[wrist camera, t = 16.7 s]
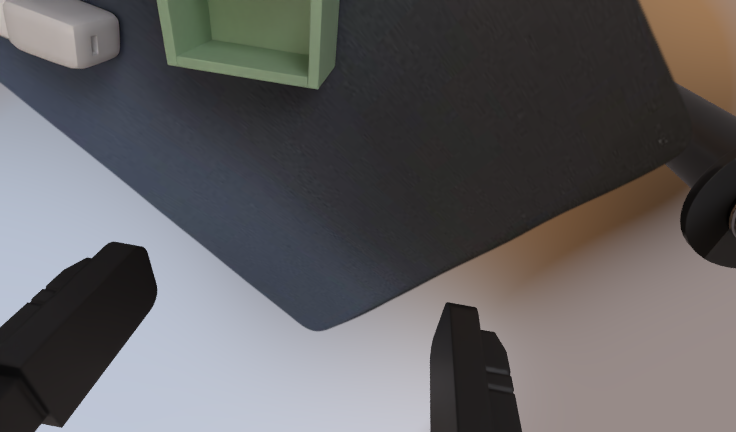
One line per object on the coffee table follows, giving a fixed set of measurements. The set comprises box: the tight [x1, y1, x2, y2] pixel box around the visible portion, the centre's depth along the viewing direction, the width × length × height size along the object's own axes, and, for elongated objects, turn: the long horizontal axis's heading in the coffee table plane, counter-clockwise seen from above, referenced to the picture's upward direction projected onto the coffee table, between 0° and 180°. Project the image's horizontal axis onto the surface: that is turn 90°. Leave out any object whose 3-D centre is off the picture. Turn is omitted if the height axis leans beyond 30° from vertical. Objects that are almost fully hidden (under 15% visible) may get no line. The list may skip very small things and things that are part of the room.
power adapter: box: [0, 0, 120, 69], centre depth 32 cm, size 11×5×6 cm, turn 71°
